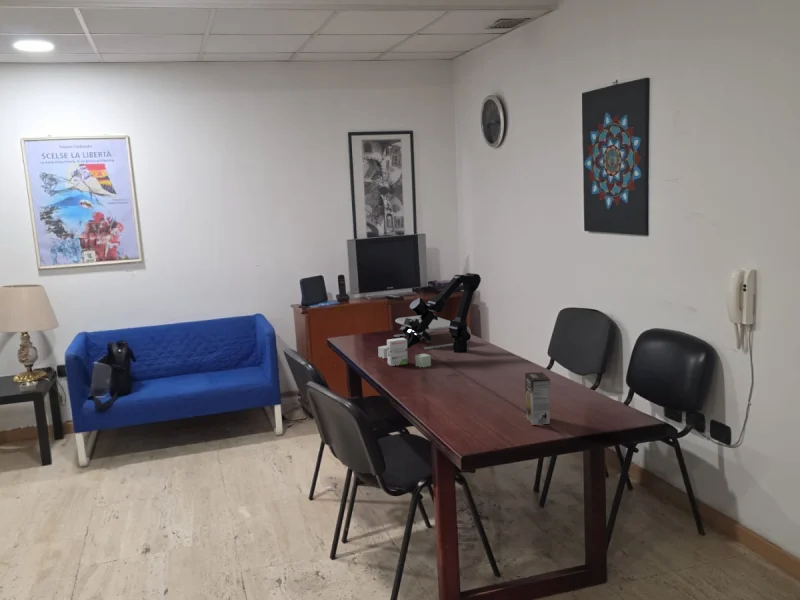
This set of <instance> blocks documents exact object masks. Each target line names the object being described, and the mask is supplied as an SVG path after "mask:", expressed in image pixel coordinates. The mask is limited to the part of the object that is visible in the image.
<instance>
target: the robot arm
mask: <svg viewBox="0 0 800 600" xmlns="http://www.w3.org/2000/svg"><path fill="white" fill-rule="evenodd" d="M481 280H482V277H481V276H480V274H478V273H471V272H467V273H465V274H454V275H453V277H452V279H451V280H449V281H448V283H447V284H446V286H444V287H443V288H442V289H441V291H440V292H439V293H438V294H436V295H434V296H433V297H432V298H430V299H429V300H428V301H427V302H425V301H424V299H422V298H421V297H417V299H414V300H413V301H412V302H411V303H410V304H409V309H411V310H412V311H413V312H414V313H415V315H416V316H420V315H421V316H420V318H419V319H416V318H414V319H409V318H406V319H405V322H404V324H405V325H409V326H410V327H408V326H405V325H401V327H400V328H399V330H400V331H401V332H402V334H405V335H406V336H405V337H406V340H407V349H409V348H411V347H413V346H414V345H416V344H419V343H422V342H423V339H424V341H425V342H426V343H430V342H431V341H432V336H431V335H430V333H427V332H426V331H425V330H426V329H429V327H428V326H429V325H430V323H431V322H432V320H433V319H434V320H438V317H439V316H438V313H441V312H442V311H443V310H444V309H445V307H446V305H447V301H448V300H449V298H450V297H451V296H452V295H453V294H454V293H455V292H456V290H457V289H458V288H459V287H460V285H463V287H462V288H463V292H462V295H461V300H460V302H459V307H458V310H457V314H456V317H455V318H454V320H453V319H450V320H449V321H450V326H449V329H448V332H449V334H450V336H451V338H452V339H453V342H452V343H453V346H452V347H453V353H464V352H466V353H468V352H469V350H470V349H469V340H471V336H472V334H471V335H470V334H469V333H468V331H467V327H468V324H467V317H468V314H469V310H470V307H471V303H472V300H473V297H474V293H475V292H476V291H477V289H478V288H479V286H480V284H481V282H482V281H481ZM434 312H435V313H434ZM436 313H437V314H436ZM467 351H468V352H467Z"/></svg>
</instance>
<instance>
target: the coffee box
mask: <svg viewBox="0 0 800 600" xmlns="http://www.w3.org/2000/svg"><path fill="white" fill-rule="evenodd" d="M524 376H525V378H524V380H525V381H524V382H525V383H524V384H525V385H524V386H525V418H526V417H527V418H526V419H527V421H528V420H529V421H530V422H531V423H532V424H533V425H534V424H548V423H550V424H551V378H549V377H548V376H547V375H546V374H545V373H544V372H543V371H541V372H525V373H524ZM529 421H528V422H529ZM530 422H529V423H530ZM531 423H530V424H531ZM532 424H531V425H532Z"/></svg>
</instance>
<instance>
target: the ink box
mask: <svg viewBox="0 0 800 600" xmlns="http://www.w3.org/2000/svg"><path fill="white" fill-rule="evenodd" d="M386 345H387V358H386V359H387V365H389V366H391V367H396V366H402V365H408V364H409V363H408V362H409V359H408V348H407V338H405V337H396V338H390V339H386ZM395 365H396V366H395Z"/></svg>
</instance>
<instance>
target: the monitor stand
mask: <svg viewBox="0 0 800 600" xmlns="http://www.w3.org/2000/svg"><path fill="white" fill-rule="evenodd" d="M420 316H421V315H420ZM420 316H418V315H413V316H405V317H397V318H395V320H394V321H395V323H397V324H399V325H401V326H408V327H409V328H410V326H409V325H405V324H404V322H405V319H406V318H409V319H414V318H416V319H419V318H420ZM437 317H438V320H434V319H433V320H432V322H431V323H430V325H429V326H428V327H429V329H426V330H425V331H426V332H427V333H428V334H430V333H433V332H437V331H445V330H449V326H450V321H451V320H448V319H445V318H442V317H439V316H437ZM467 332H468V333H469V334H470V335H471V336H472V332H471V328H470V327H469V326H467ZM400 336H403V337H407V336H406V335H405V334H404V333H402V334H394V335H392V338H393V337H396V338H401V337H400ZM447 346H449V347H453V342H452V343H447V344H438V345H433V346H426V347H423V348H422V350H423V351H428V350H434V349H433V348H435V349H441V348H440V347H442V348H448V347H447ZM427 349H428V350H427Z"/></svg>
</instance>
